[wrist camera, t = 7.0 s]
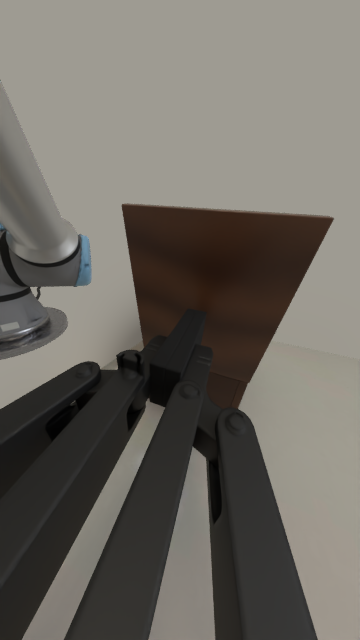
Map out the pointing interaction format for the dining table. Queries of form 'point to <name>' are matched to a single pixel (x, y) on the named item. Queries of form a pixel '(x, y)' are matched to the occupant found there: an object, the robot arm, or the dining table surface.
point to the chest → (225, 390)
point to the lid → (220, 274)
